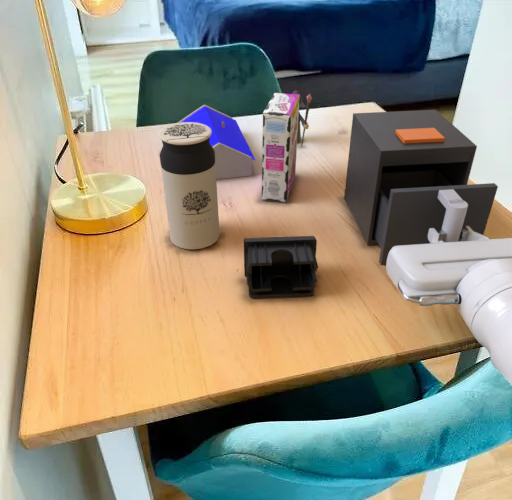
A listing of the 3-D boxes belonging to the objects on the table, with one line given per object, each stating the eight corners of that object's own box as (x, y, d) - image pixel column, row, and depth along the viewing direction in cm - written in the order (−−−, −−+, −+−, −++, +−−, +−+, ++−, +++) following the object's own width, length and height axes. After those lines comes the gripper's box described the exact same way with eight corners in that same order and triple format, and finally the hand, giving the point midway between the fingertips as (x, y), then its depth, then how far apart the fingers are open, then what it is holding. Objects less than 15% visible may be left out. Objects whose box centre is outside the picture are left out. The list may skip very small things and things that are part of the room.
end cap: (311, 265, 75) (313, 227, 72) (318, 296, 70) (321, 256, 66) (244, 268, 75) (243, 229, 71) (245, 299, 69) (244, 259, 65)
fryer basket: (492, 279, 70) (517, 204, 63) (391, 287, 69) (406, 211, 62) (436, 208, 86) (451, 142, 79) (354, 213, 85) (362, 146, 78)
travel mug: (171, 225, 85) (158, 122, 75) (218, 222, 86) (212, 120, 75) (169, 252, 78) (154, 143, 68) (220, 249, 79) (213, 141, 69)
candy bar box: (288, 203, 91) (291, 114, 81) (260, 201, 91) (260, 112, 82) (297, 175, 100) (300, 92, 90) (272, 173, 100) (273, 91, 91)
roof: (256, 175, 100) (255, 140, 96) (185, 182, 98) (182, 146, 93) (236, 133, 118) (235, 101, 113) (176, 138, 115) (172, 106, 111)
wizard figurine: (275, 141, 113) (275, 88, 106) (288, 133, 117) (290, 81, 110) (307, 150, 109) (310, 95, 102) (319, 141, 113) (323, 88, 106)
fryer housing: (452, 239, 81) (478, 142, 71) (367, 245, 80) (381, 147, 70) (418, 194, 93) (436, 106, 83) (343, 198, 92) (353, 109, 82)
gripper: (403, 326, 57) (368, 255, 68) (574, 313, 59) (512, 245, 70) (412, 283, 53) (374, 215, 65) (594, 270, 55) (526, 206, 66)
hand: (447, 231), depth 67 cm, fingers closed on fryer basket, 2 cm apart
